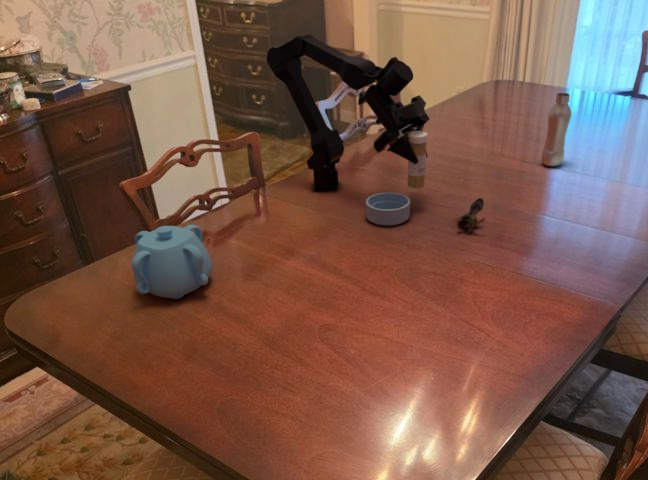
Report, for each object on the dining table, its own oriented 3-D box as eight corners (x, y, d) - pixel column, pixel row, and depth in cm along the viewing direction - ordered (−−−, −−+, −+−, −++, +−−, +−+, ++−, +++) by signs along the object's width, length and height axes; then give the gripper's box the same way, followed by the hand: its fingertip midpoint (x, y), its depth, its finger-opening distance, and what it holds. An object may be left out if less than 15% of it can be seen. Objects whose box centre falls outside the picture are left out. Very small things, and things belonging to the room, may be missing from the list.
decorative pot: (211, 302, 129) (200, 243, 121) (133, 308, 128) (116, 249, 120) (216, 264, 142) (206, 209, 134) (145, 270, 141) (131, 214, 133)
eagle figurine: (492, 229, 149) (490, 208, 155) (479, 208, 145) (476, 187, 151) (464, 243, 153) (462, 221, 159) (450, 223, 149) (449, 202, 155)
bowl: (367, 228, 155) (367, 211, 152) (365, 209, 164) (364, 193, 161) (412, 226, 155) (412, 209, 152) (407, 207, 164) (407, 191, 161)
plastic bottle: (538, 167, 184) (549, 96, 171) (542, 159, 188) (553, 90, 176) (560, 169, 182) (573, 98, 169) (563, 162, 186) (576, 92, 174)
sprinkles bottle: (420, 181, 162) (423, 129, 153) (427, 187, 158) (430, 134, 150) (404, 183, 160) (406, 131, 152) (410, 190, 157) (413, 137, 149)
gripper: (384, 96, 141) (424, 153, 142) (424, 77, 152) (461, 130, 154) (356, 125, 149) (394, 179, 151) (396, 106, 161) (431, 156, 163)
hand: (421, 160), depth 154 cm, fingers closed on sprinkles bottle, 4 cm apart
